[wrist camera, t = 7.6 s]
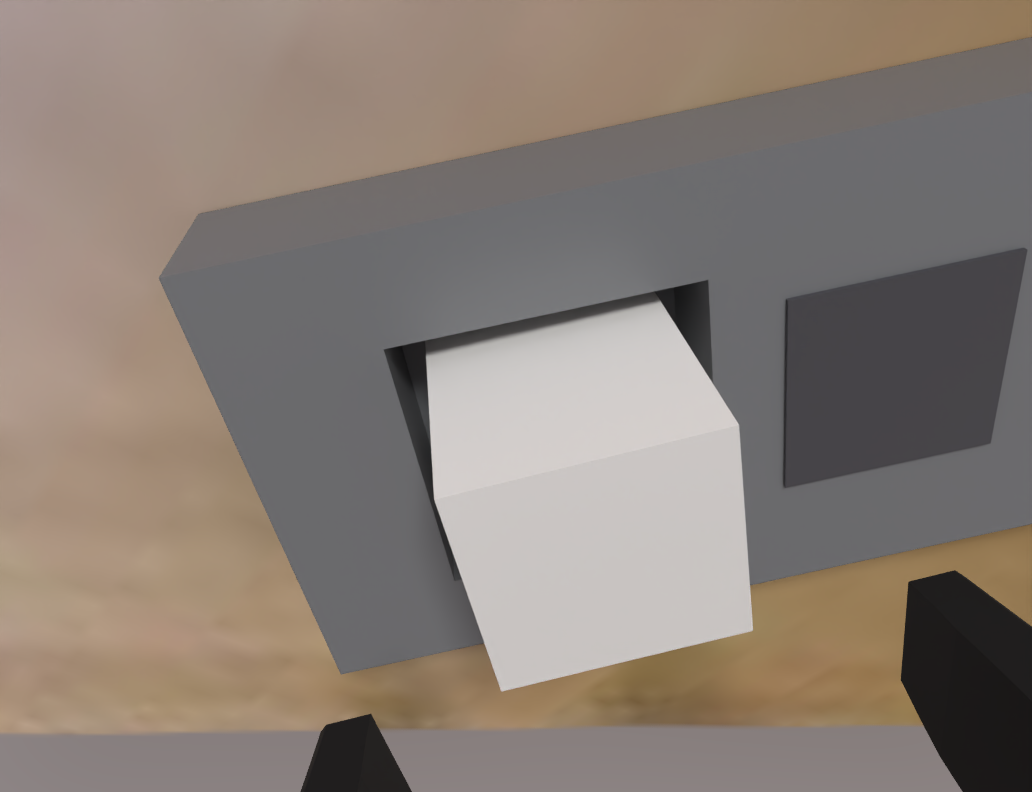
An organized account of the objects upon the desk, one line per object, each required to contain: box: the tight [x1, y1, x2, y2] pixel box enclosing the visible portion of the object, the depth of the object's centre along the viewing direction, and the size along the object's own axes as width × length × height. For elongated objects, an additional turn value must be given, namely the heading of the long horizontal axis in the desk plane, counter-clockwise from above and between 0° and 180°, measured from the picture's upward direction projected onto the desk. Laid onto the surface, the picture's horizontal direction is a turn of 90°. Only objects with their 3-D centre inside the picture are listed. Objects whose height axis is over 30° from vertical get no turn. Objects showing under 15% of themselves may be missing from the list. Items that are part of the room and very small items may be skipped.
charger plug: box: [425, 292, 753, 691], centre depth 15 cm, size 4×4×6 cm
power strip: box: [159, 37, 1032, 674], centre depth 17 cm, size 22×10×3 cm, turn 100°
